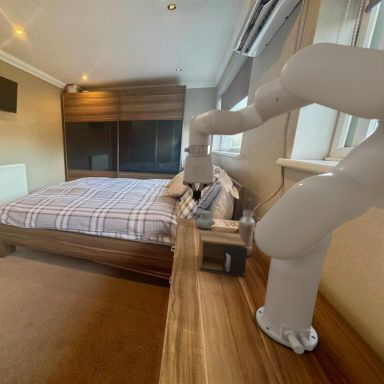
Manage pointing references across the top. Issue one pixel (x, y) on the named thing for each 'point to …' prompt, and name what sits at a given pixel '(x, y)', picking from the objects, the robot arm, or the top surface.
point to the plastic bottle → (247, 229)
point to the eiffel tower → (247, 209)
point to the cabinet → (216, 250)
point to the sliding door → (234, 259)
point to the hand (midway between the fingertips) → (196, 200)
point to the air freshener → (204, 220)
